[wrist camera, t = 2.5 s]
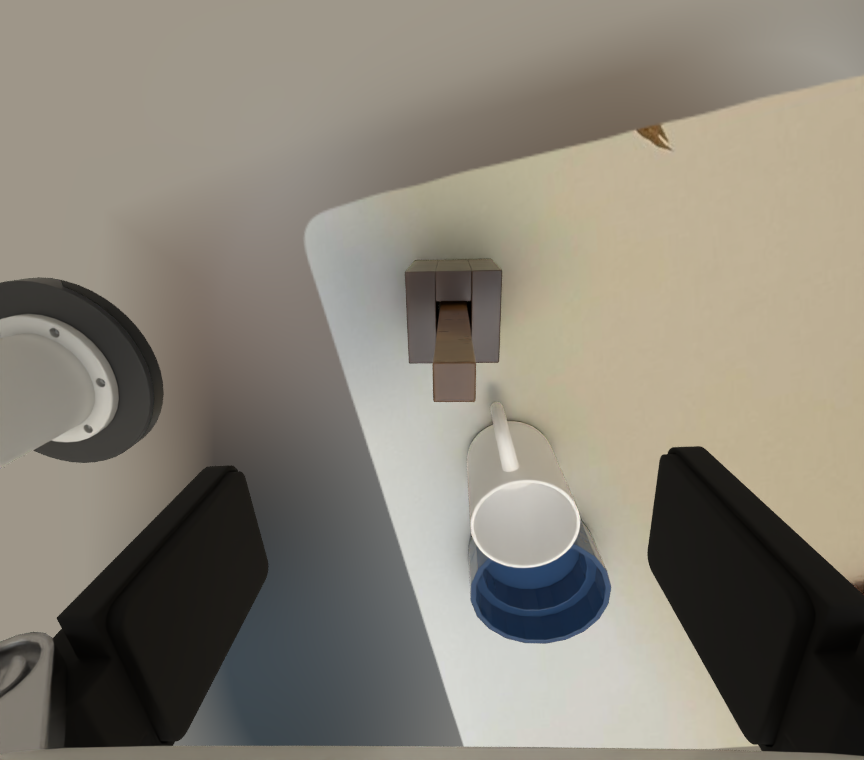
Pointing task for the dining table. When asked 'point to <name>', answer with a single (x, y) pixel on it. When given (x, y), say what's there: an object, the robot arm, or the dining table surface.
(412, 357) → the stand
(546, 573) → the bowl
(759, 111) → the dining table surface
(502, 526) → the cup
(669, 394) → the dining table surface
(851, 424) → the dining table surface
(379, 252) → the dining table surface
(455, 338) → the stick
